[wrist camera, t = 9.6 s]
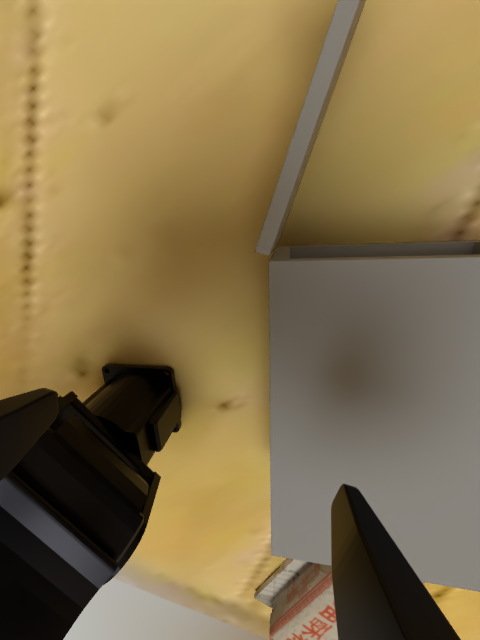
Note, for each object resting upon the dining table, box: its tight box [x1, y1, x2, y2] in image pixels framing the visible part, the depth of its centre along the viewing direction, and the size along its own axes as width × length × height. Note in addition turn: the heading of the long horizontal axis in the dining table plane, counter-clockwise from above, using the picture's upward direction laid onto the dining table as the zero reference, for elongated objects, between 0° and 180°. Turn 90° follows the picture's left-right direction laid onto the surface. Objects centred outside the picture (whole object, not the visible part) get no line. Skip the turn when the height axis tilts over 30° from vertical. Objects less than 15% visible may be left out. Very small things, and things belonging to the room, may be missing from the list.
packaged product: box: [254, 558, 425, 640], centre depth 26 cm, size 18×5×10 cm
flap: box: [255, 0, 366, 256], centre depth 10 cm, size 12×1×12 cm, turn 162°
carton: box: [269, 240, 480, 592], centre depth 16 cm, size 12×18×8 cm
